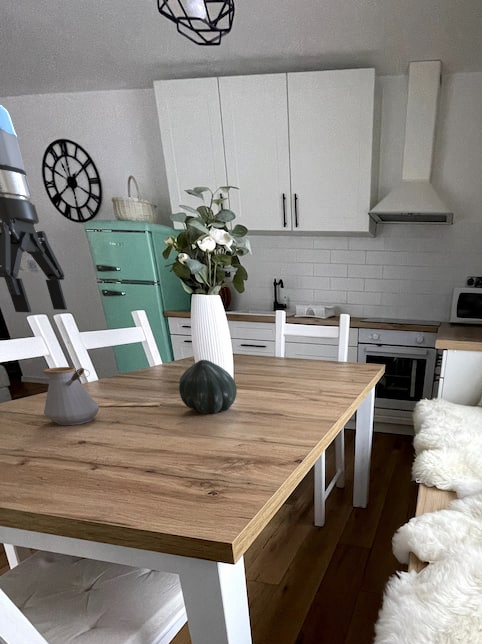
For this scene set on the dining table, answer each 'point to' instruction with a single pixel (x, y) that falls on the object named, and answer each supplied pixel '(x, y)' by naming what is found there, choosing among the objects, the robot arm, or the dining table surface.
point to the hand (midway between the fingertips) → (43, 311)
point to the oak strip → (126, 404)
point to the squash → (207, 387)
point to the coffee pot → (68, 397)
